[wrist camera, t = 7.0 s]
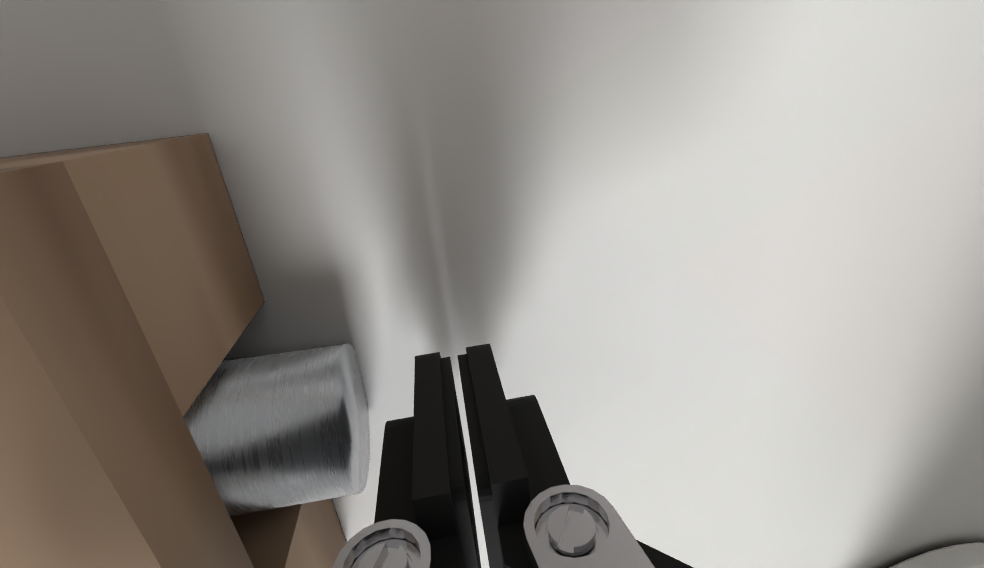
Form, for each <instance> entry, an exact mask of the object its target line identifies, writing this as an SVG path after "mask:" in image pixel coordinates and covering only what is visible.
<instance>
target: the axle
mask: <svg viewBox="0 0 984 568" xmlns="http://www.w3.org/2000/svg"><path fill="white" fill-rule="evenodd" d="M183 418H184V420H185V422H186V424H187V426H188V429H189V431H190V433H191V435H192V437H193V439H194V441H195V443H196V446H197V448H198V450H199V452H200V454H201V456H202V458H203V460H204V463H205V465H206V467H207V469H208V471H209V473H210V475H211V477H212V480H213V482H214V484H215V486H216V488H217V490H218V492H219V494H220V497H221V499H222V501H223V503H224V505H225V507H226V509H227V511H228V514H229V516H230V517H231V516H236V515H242V514H247V513H253V512H258V511H264V510H269V509H275V508H281V507H286V506H292V505H297V504H303V503H308V502H314V501H319V500H325V499H330V498H336V497H342V496H347V495H353V494H358V493H361V492H362V491H363V490H364V488H365V485H366V482H367V476H368V469H369V455H370V434H369V416H368V406H367V402H366V397H365V392H364V388H363V383H362V379H361V374H360V370H359V365H358V360H357V356H356V352H355V350H354V348H353V346H352V345H351V344H342V345H334V346H327V347H320V348H313V349H306V350H299V351H292V352H284V353H277V354H270V355H263V356H256V357H249V358H242V359H235V360H227V361H222V362H221V364H220V365H219V367H218V368H217V369H216V371H215V372H214V374H213V375H212V377H211V378H210V379H209V381H208V382H207V384H206V385H205V386H204V388H203V389H202V391H201V392H200V394H199V395H198V396H197V398H196V399H195V401H194V402H193V403H192V405H191V406H190V408H189V409H188V411H187V412H186V413H185V415H184V416H183Z"/></svg>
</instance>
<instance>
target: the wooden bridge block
mask: <svg viewBox="0 0 984 568" xmlns="http://www.w3.org/2000/svg"><path fill="white" fill-rule="evenodd" d="M263 303H264V298H263V295H262V292H261V289H260V286H259V284H258V281H257V278H256V275H255V272H254V269H253V266H252V263H251V260H250V257H249V254H248V251H247V248H246V245H245V242H244V239H243V236H242V233H241V230H240V227H239V224H238V221H237V218H236V216H235V213H234V210H233V207H232V204H231V201H230V198H229V195H228V192H227V189H226V186H225V183H224V180H223V177H222V174H221V171H220V168H219V165H218V162H217V159H216V156H215V153H214V150H213V148H212V145H211V142H210V139H209V136H208V133H206V134H197V135H189V136H180V137H172V138H163V139H155V140H146V141H138V142H129V143H121V144H113V145H104V146H96V147H87V148H79V149H70V150H62V151H53V152H45V153H36V154H28V155H19V156H11V157H2V158H0V568H332V567H333V564H334V562H335V560H336V558H337V556H338V554H339V552H340V551H341V549H342V548H343V547H344V546H345V545H346V541H345V538H344V535H343V532H342V529H341V526H340V523H339V520H338V517H337V514H336V511H335V508H334V505H333V502H332V499H331V498H330V499H325V500H319V501H314V502H308V503H303V504H297V505H292V506H286V507H281V508H275V509H269V510H264V511H258V512H253V513H247V514H242V515H236V516H231V517H230V516H229V514H228V511H227V509H226V507H225V505H224V503H223V501H222V499H221V497H220V494H219V492H218V490H217V488H216V486H215V484H214V482H213V480H212V477H211V475H210V473H209V471H208V469H207V467H206V465H205V463H204V460H203V458H202V456H201V454H200V452H199V450H198V448H197V446H196V443H195V441H194V439H193V437H192V435H191V433H190V431H189V429H188V426H187V424H186V422H185V420H184V418H183V416H184V415H185V413H186V412H187V411H188V409H189V408H190V406H191V405H192V403H193V402H194V401H195V399H196V398H197V396H198V395H199V394H200V392H201V391H202V389H203V388H204V386H205V385H206V384H207V382H208V381H209V379H210V378H211V377H212V375H213V374H214V372H215V371H216V369H217V368H218V367H219V365H220V364H221V362H222V361H223V360H224V358H225V357H226V355H227V354H228V352H229V351H230V350H231V348H232V347H233V345H234V344H235V343H236V341H237V340H238V338H239V337H240V335H241V334H242V333H243V331H244V330H245V328H246V327H247V326H248V324H249V323H250V321H251V320H252V318H253V317H254V316H255V314H256V313H257V311H258V310H259V309H260V307H261V306H262V304H263Z"/></svg>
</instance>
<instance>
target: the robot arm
mask: <svg viewBox="0 0 984 568" xmlns="http://www.w3.org/2000/svg"><path fill="white" fill-rule="evenodd" d="M466 352H467V354H464V355H458V362H459V369H460V375H461V382H462V389H463V396H464V403H465V410H466V416H467V423H468V430H469V437H470V444H471V450H472V457H473V464H474V471H475V478H476V484H477V491H478V497H479V503H480V510H481V516H482V522H483V529H484V535H485V541H486V547H487V554H488V560H489V566H490V568H693V567H691V566H689V565H687V564H685V563H683V562H681V561H679V560H677V559H675V558H673V557H670V556H668V555H666V554H664V553H662V552H660V551H658V550H656V549H654V548H652V547H650V546H648V545H646V544H644V543H642V542H640V541H638V540H636V539H635V538H634V536H633V535H632V533H631V532H630V530H629V529H628V527H627V526H626V525H625V523H624V522H623V520H622V519H621V517H620V516H619V514H618V513H617V511H616V510H615V508H614V507H613V506H612V505H611V504H610V503H609V501H608V500H607V499H606V498H605V497H604V496H602V495H600V494H599V493H597V492H596V491H594V490H592V489H589V488H586V487H583V486H579V485H570V483H569V480H568V478H567V475H566V473H565V470H564V467H563V465H562V462H561V460H560V457H559V455H558V452H557V450H556V447H555V445H554V442H553V439H552V437H551V434H550V432H549V429H548V427H547V424H546V422H545V419H544V416H543V414H542V411H541V409H540V406H539V404H538V401H537V399H536V397H535V396H534V395H530V396H525V397H519V398H513V399H508V400H506V399H505V395H504V392H503V388H502V385H501V381H500V378H499V374H498V371H497V367H496V364H495V360H494V357H493V353H492V350H491V346H490V344H484V345H479V346H473V347H467V348H466ZM332 568H481V563H480V555H479V548H478V540H477V532H476V525H475V517H474V509H473V502H472V494H471V486H470V479H469V471H468V463H467V457H466V450H465V444H464V438H463V432H462V426H461V420H460V414H459V408H458V402H457V396H456V390H455V384H454V378H453V372H452V366H451V360H450V357H446V358H441V356H440V352H437V353H431V354H425V355H419V356H415V383H414V417H408V418H403V419H397V420H392V421H387V422H386V424H385V430H384V439H383V449H382V458H381V467H380V476H379V485H378V494H377V503H376V512H375V522H374V524H373V525H370V526H368V527H366V528H364V529H362V530H361V531H360V532H359V533H357V534H356V535H355V536H353V537H352V538H351V539H350V540H349V541H348V542H347V543H346V545H345V546H344V547H343V548H342V549H341V551H340V552H339V554H338V556H337V558H336V560H335V562H334V564H333V567H332ZM890 568H984V543H979V542H976V543H967V544H958V545H952V546H948V547H944V548H940V549H936V550H932V551H928V552H926V553H923V554H920V555H918V556H915V557H912V558H910V559H907V560H905V561H902V562H900V563H898V564H896V565H894V566H892V567H890Z"/></svg>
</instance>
